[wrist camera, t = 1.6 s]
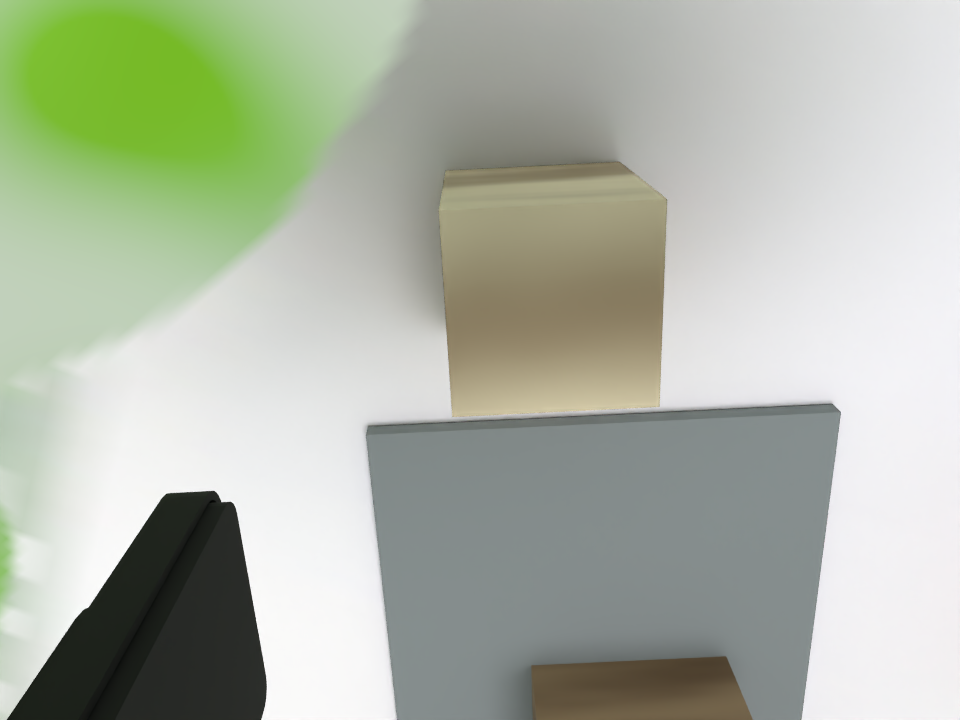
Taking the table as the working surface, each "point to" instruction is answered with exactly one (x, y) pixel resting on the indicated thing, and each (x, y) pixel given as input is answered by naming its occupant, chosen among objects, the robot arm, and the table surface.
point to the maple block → (552, 288)
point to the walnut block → (638, 690)
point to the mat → (600, 550)
